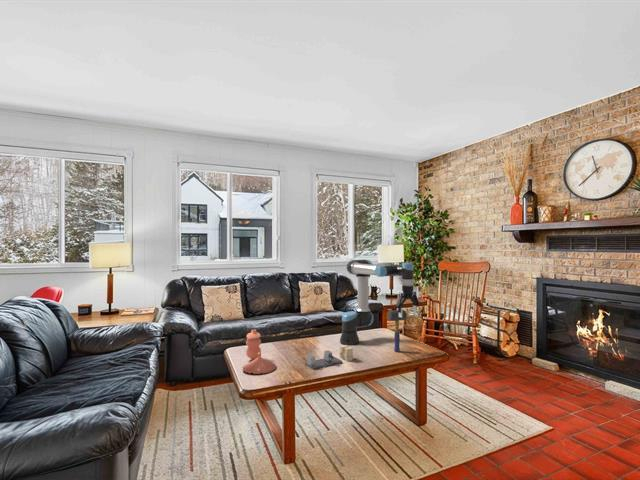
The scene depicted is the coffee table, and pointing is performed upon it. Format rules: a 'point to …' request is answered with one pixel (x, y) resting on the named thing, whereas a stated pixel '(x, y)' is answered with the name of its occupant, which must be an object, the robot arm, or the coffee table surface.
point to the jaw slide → (328, 355)
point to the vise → (320, 362)
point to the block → (346, 353)
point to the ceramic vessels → (256, 356)
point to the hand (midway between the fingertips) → (407, 316)
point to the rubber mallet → (396, 325)
